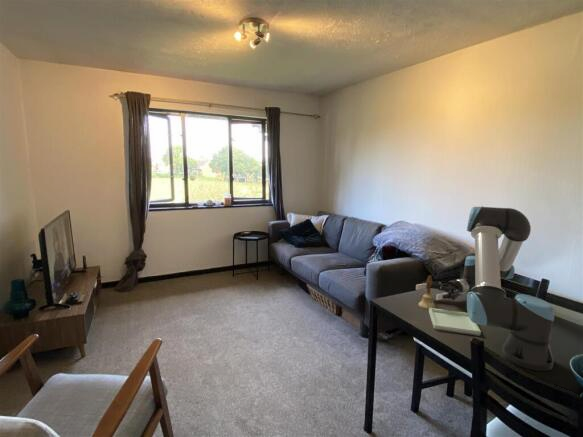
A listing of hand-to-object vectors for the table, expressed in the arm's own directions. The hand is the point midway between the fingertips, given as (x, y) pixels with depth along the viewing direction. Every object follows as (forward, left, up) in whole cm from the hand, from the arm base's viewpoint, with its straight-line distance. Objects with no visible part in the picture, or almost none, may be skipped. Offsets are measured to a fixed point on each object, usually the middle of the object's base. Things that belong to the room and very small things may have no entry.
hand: (426, 292), depth 161 cm
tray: (-16, -10, -7) cm, 20 cm away
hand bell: (0, -1, -8) cm, 8 cm away
